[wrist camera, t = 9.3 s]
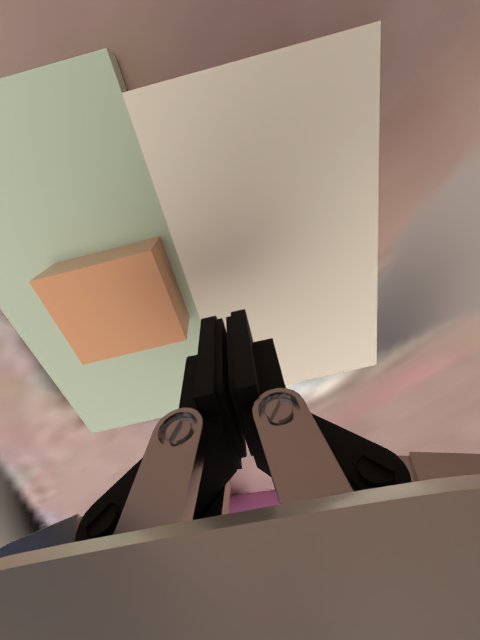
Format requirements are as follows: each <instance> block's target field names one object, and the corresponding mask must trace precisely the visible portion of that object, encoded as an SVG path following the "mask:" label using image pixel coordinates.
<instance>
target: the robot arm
mask: <svg viewBox="0 0 480 640" xmlns="http://www.w3.org/2000/svg"><path fill="white" fill-rule="evenodd" d="M226 330H227V332H226ZM245 439H246V442H247V445H248V448H249V451H250V454H251V456H254V459H255V462H256V465H257V467H258V468H259V469H260V470H262V471H263V472H265V473H266V474H268V475H269V476H270V477H272V481H273V484H274V487H275V490H276V493H277V497H278V500H279V503H280V505H275V506H269V507H263V508H258V509H252V510H247V511H241V512H236V513H230V514H228V508H229V499H230V490H231V489H230V481H229V480H230V479H231V478H232V476H233V475H234V474H235V473H236V471H237V469H242V464H241V458H243V457H246V455H247V454H246V442H245ZM0 640H480V454H465V453H432V452H409V456H397V455H396V454H394V453H393V452H391V451H389V450H388V449H386V448H384V447H382V446H380V445H378V444H376V443H373V442H371V441H369V440H367V439H365V438H363V437H361V436H359V435H356V434H354V433H352V432H350V431H348V430H346V429H344V428H342V427H339V426H337V425H335V424H333V423H331V422H329V421H327V420H325V419H322V418H320V417H318V416H316V415H314V414H312V413H311V412H310V410H309V409H308V407H307V405H306V403H305V401H304V399H303V398H302V397H301V396H300V394H298V393H297V392H295V391H293V390H290V389H287V388H286V387H285V383H284V379H283V376H282V372H281V368H280V364H279V361H278V357H277V353H276V349H275V346H274V342H273V338H270V339H266V340H261V341H256V342H253V338H252V334H251V330H250V326H249V322H248V318H247V314H246V310H245V309H242V310H238V311H234V312H231V316H229V317H226V328H225V325H224V322H223V319H222V318H220V319H217V317H216V316H212V317H207V318H203V319H201V324H200V334H199V344H198V354H197V355H192V356H188V357H187V359H186V363H185V370H184V377H183V383H182V390H181V396H180V403H179V409H176V410H174V411H171V412H169V413H168V414H166V415H165V416H164V417H163V418H162V419H161V420H160V421H159V422H158V423H157V425H156V427H155V428H154V430H153V433H152V436H151V438H150V441H149V443H148V446H147V449H146V451H145V454H144V456H143V458H142V459H141V460H140V461H139V462H138V463H137V464H135V465H134V466H133V467H132V468H131V469H130V470H129V471H128V472H127V473H126V474H125V475H124V476H123V477H122V478H121V479H120V480H118V481H117V482H116V483H115V484H114V485H113V486H112V487H111V488H110V489H109V490H108V491H107V492H106V493H105V494H104V495H103V496H101V497H100V498H99V499H98V500H97V501H96V502H95V503H94V504H93V505H92V506H91V507H90V508H89V510H88V511H87V512H86V513H85V515H84V516H82V517H81V516H80V515H79V514H77V515H74V516H72V517H70V518H67V519H65V520H63V521H60V522H58V523H56V524H53V525H51V526H48V527H46V528H44V529H41V530H39V531H37V532H34V533H32V534H30V535H27V536H25V537H23V538H20V539H18V540H16V541H13V542H11V543H9V544H7V545H5V546H3V547H2V548H0Z"/></svg>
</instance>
